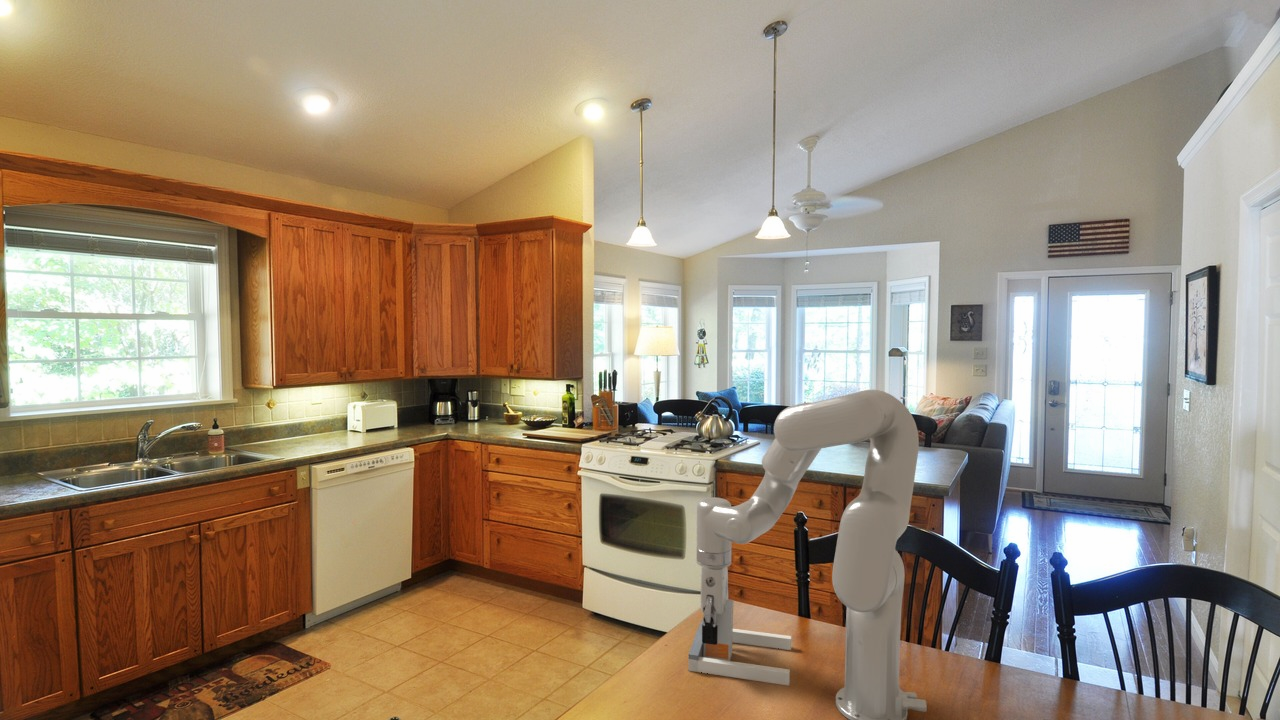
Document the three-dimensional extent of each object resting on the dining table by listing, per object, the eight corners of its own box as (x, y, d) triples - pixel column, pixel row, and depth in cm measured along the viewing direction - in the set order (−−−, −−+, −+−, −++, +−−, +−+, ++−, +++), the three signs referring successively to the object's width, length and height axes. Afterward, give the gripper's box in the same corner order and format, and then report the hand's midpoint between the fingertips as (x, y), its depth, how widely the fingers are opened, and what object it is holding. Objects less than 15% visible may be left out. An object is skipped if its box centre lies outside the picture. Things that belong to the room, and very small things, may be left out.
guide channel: (791, 646, 140) (791, 631, 140) (789, 685, 124) (789, 668, 124) (700, 634, 145) (701, 620, 145) (688, 670, 130) (688, 654, 129)
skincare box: (702, 658, 135) (703, 604, 134) (705, 648, 139) (706, 596, 138) (730, 662, 133) (731, 607, 132) (732, 652, 137) (733, 599, 137)
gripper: (726, 572, 126) (725, 654, 127) (735, 544, 143) (734, 617, 143) (689, 568, 128) (688, 649, 129) (703, 541, 145) (702, 613, 145)
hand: (713, 632), depth 136 cm, fingers open, 9 cm apart
